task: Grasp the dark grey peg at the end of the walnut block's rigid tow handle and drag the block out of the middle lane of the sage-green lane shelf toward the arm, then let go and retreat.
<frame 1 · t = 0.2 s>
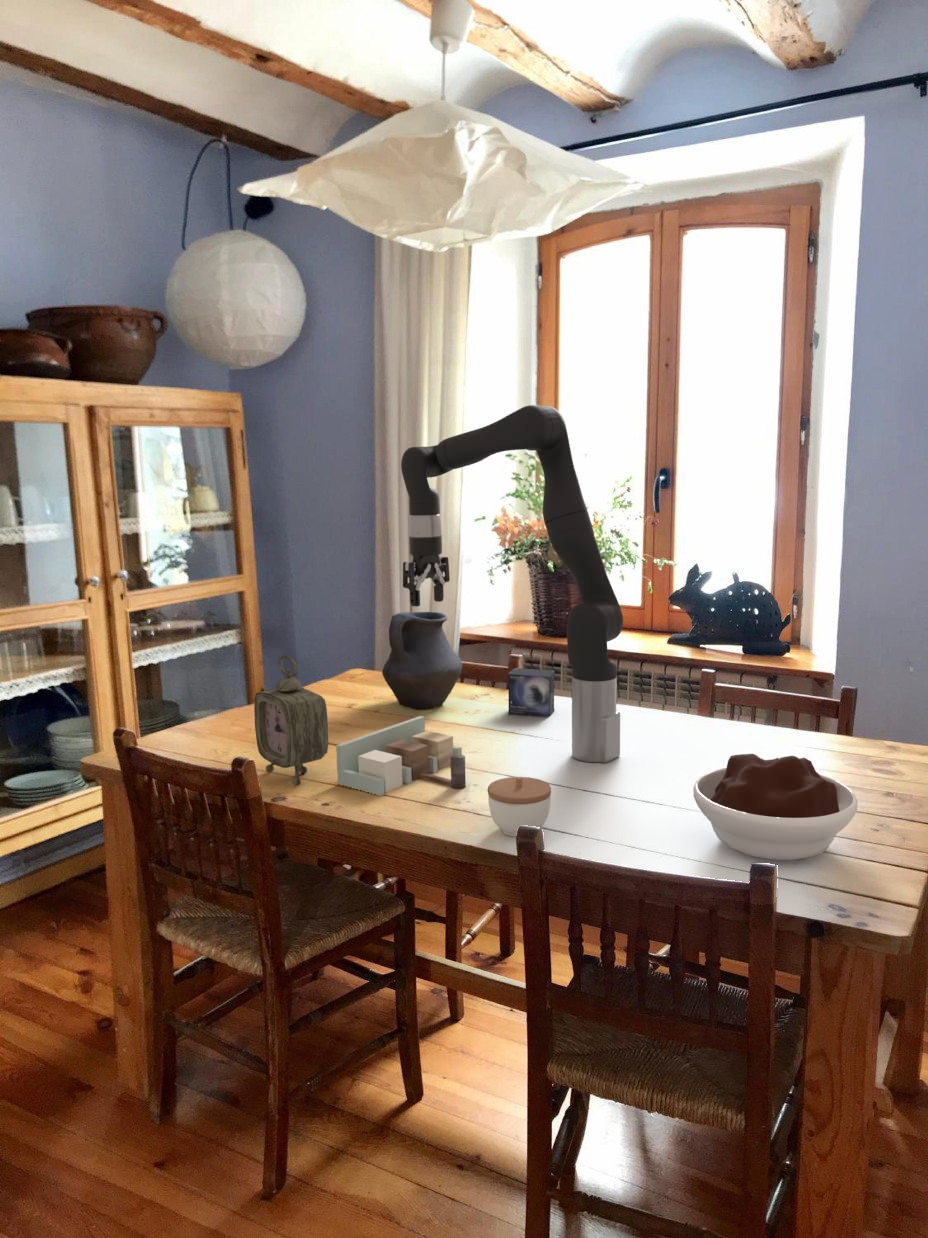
hand: (427, 603, 224), 29 cm above the table, fingers open, 8 cm apart
small box: (531, 713, 237), on the table
cream block: (380, 785, 187), on the table
lane shelf: (404, 773, 194), on the table
pitcher: (421, 706, 246), on the table
oak block: (433, 764, 200), on the table
lidded jar: (519, 831, 164), on the table
bowl of brown mass: (771, 847, 155), on the table
tow block: (407, 774, 193), on the table
tabletop clock: (295, 777, 194), on the table
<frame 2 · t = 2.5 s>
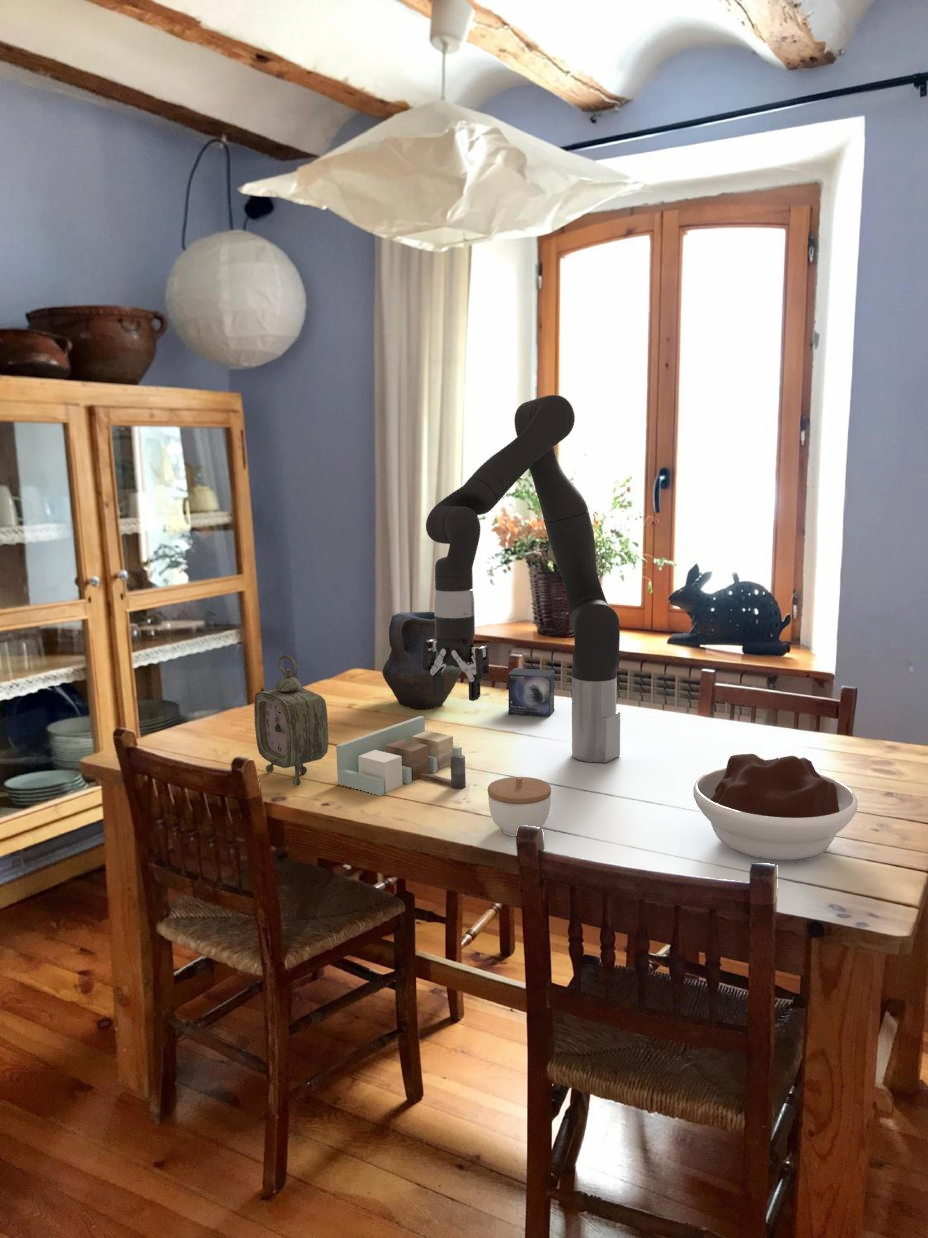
hand: (456, 696, 183), 18 cm above the table, fingers open, 8 cm apart
nothing on the table moved.
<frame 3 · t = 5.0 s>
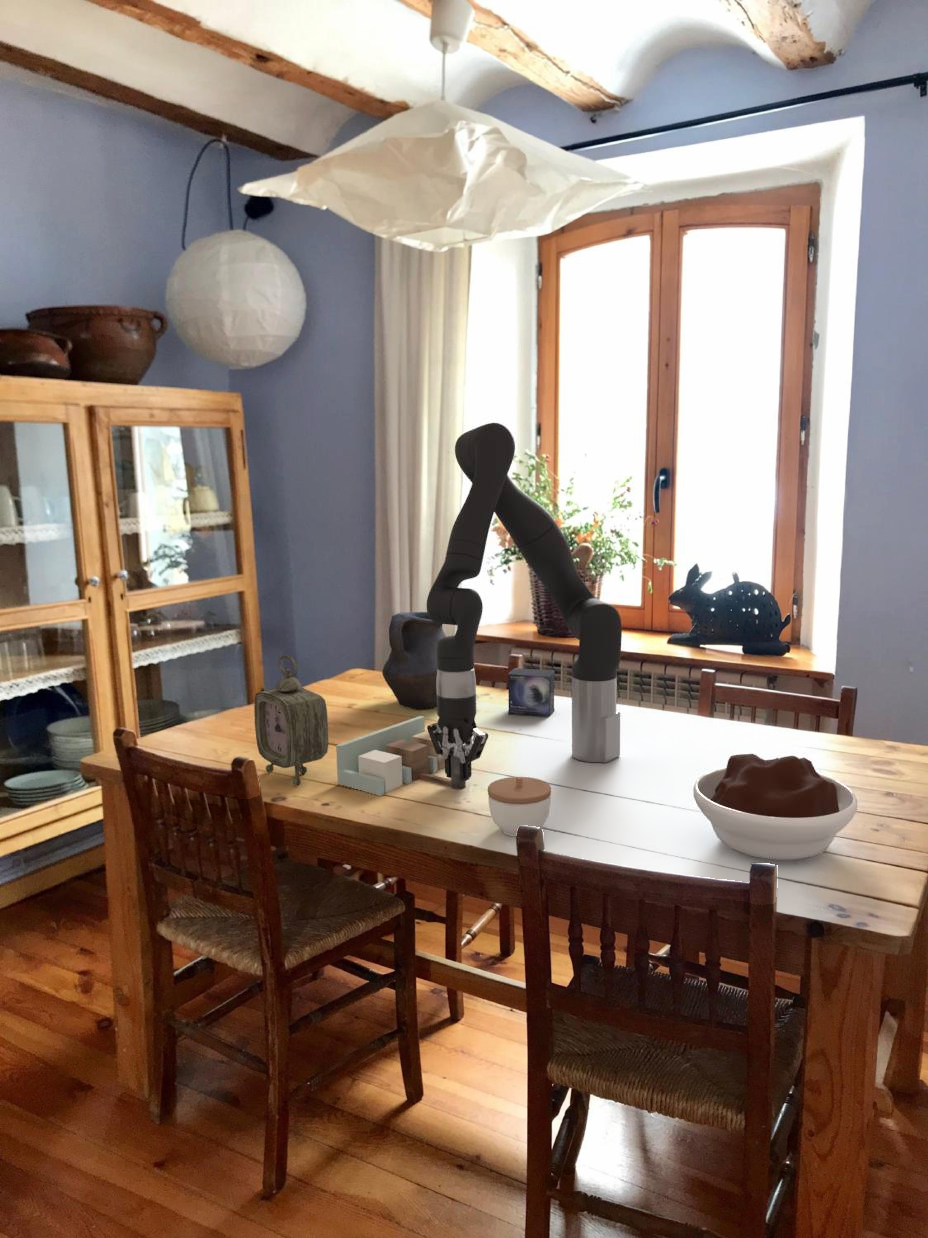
hand: (458, 778, 185), 2 cm above the table, fingers closed on tow block, 3 cm apart
tow block: (407, 773, 193), on the table, touching gripper
everything else where it was.
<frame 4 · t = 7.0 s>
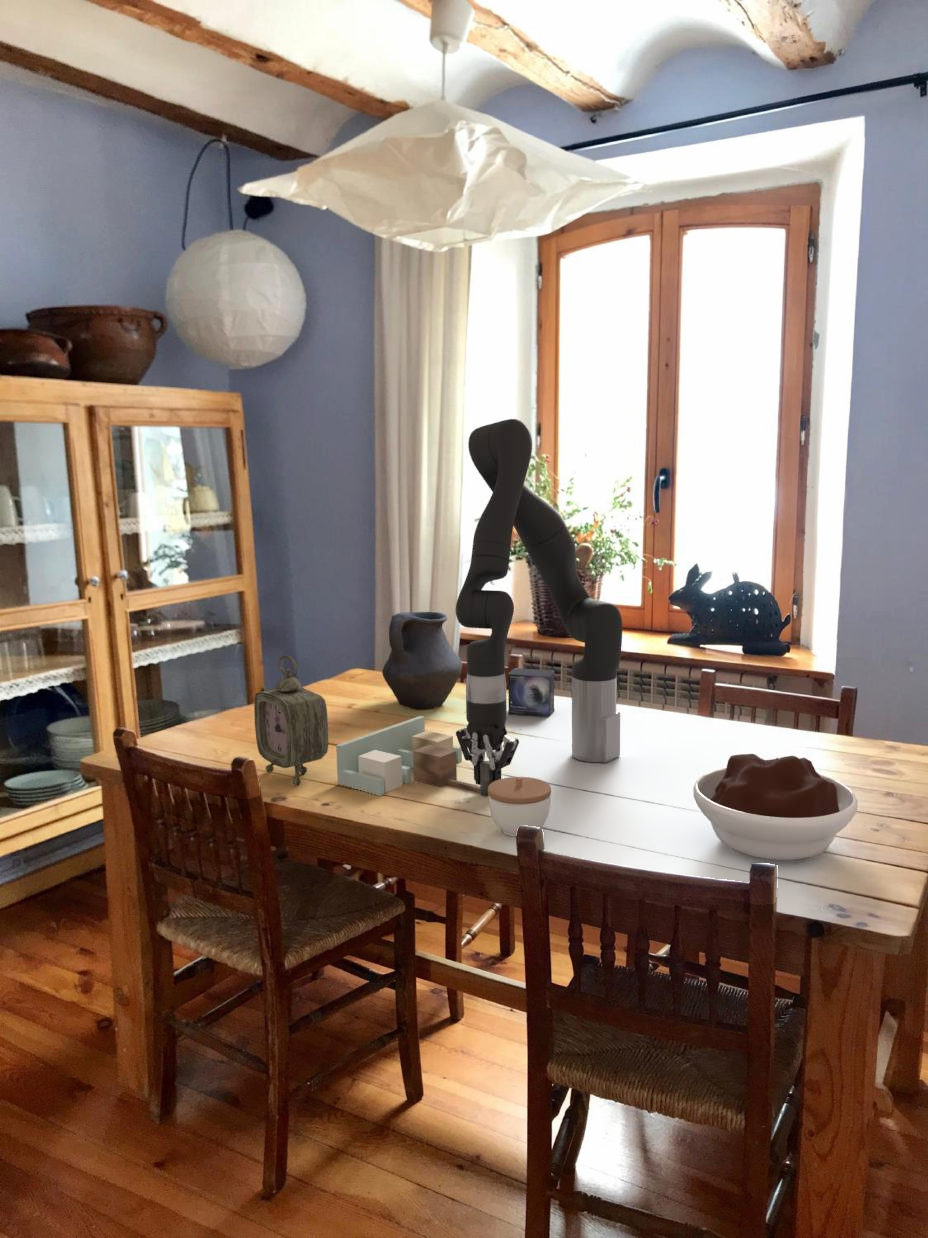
hand: (487, 784, 181), 2 cm above the table, fingers closed on tow block, 3 cm apart
tow block: (435, 780, 189), on the table, touching gripper
everything else where it was.
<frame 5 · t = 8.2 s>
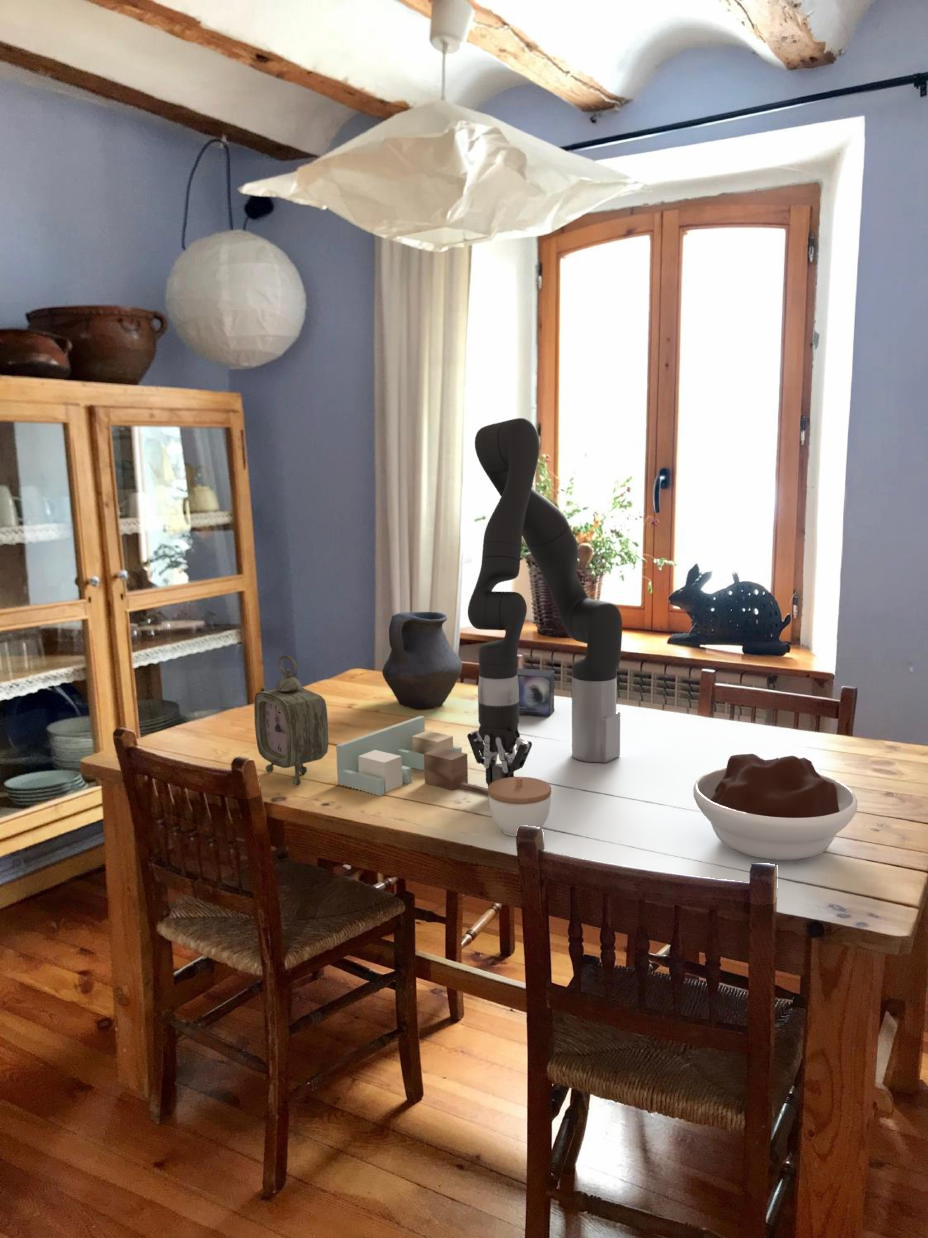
hand: (499, 788, 179), 2 cm above the table, fingers closed on tow block, 3 cm apart
tow block: (446, 783, 188), on the table, touching gripper
everything else where it was.
when the fingers open (2 cm above the table, at t = 8.8 s): tow block stays where it is, on the table.
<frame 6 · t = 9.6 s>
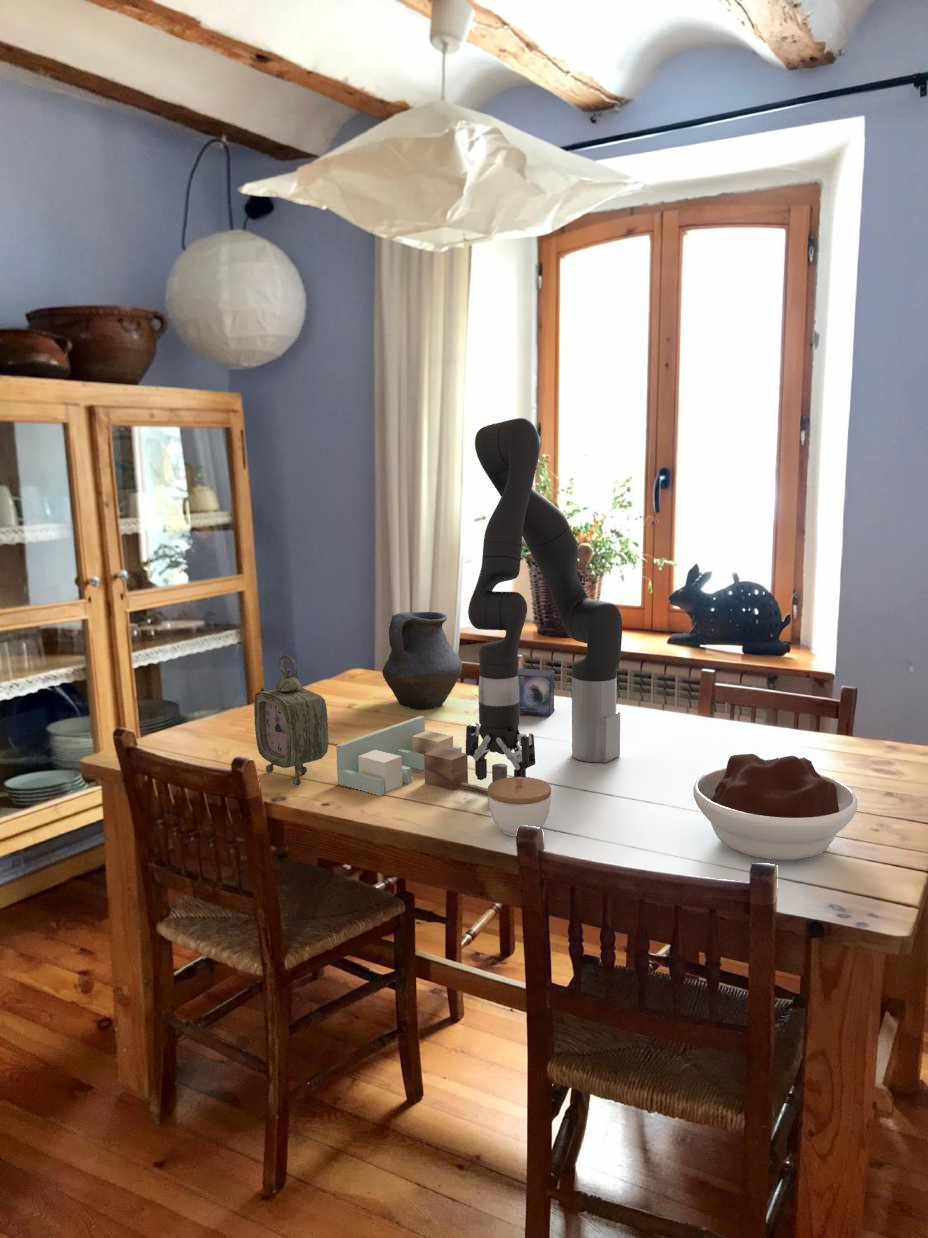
hand: (500, 783, 179), 3 cm above the table, fingers open, 8 cm apart
tow block: (446, 783, 188), on the table
everything else where it was.
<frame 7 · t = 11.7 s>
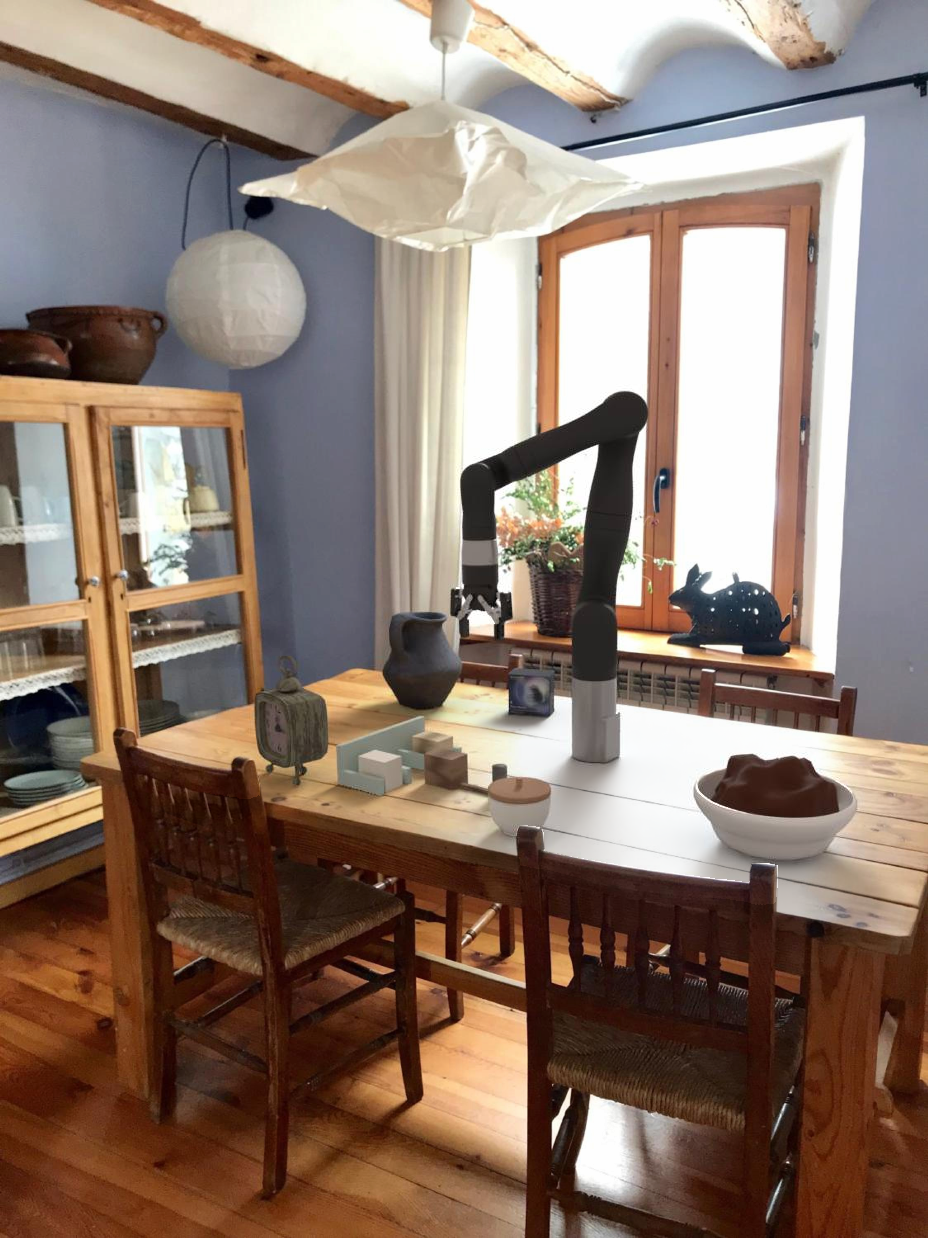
hand: (481, 639, 199), 25 cm above the table, fingers open, 8 cm apart
nothing on the table moved.
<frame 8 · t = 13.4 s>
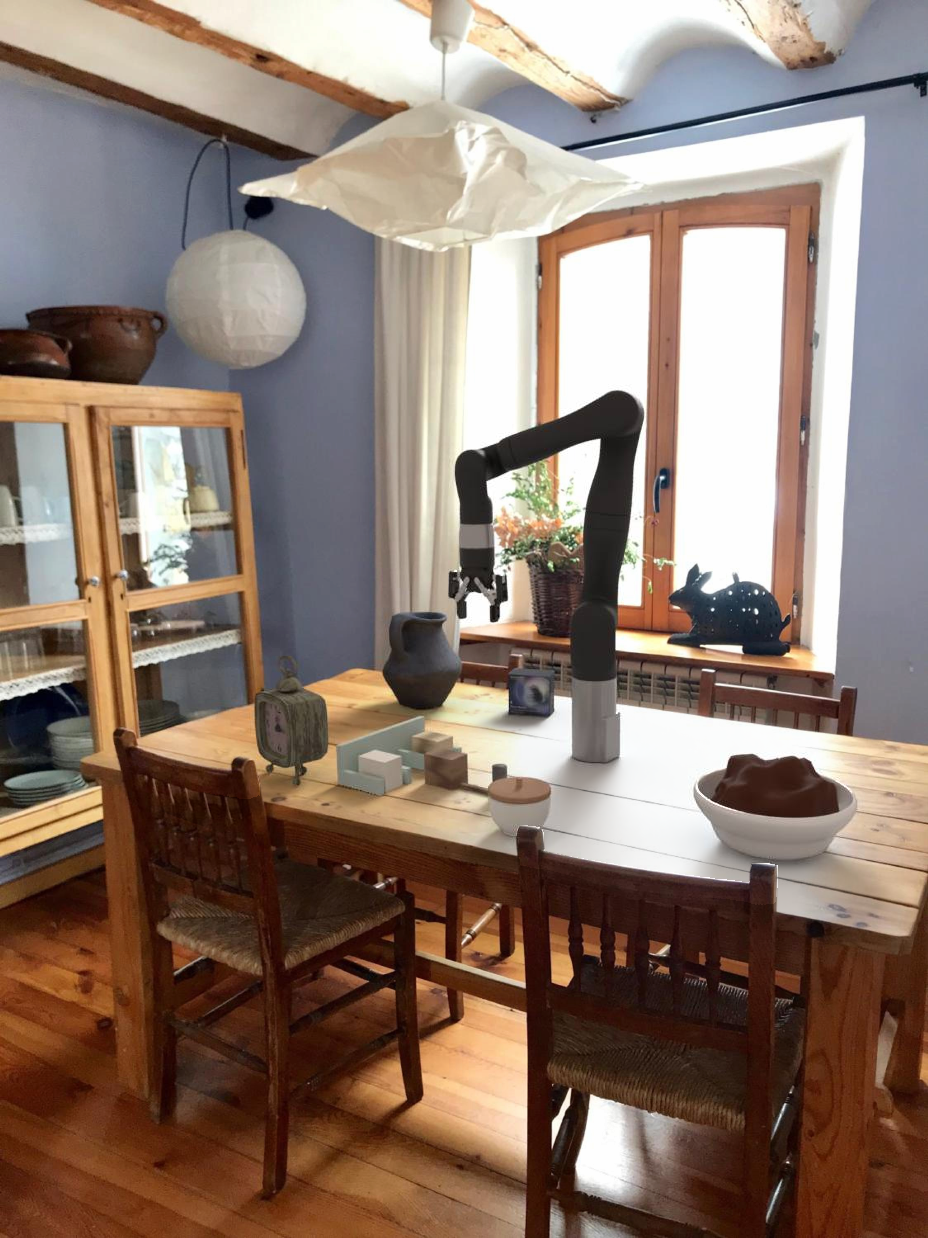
hand: (478, 620, 206), 28 cm above the table, fingers open, 8 cm apart
nothing on the table moved.
at the end: tow block inside the target area (3.4 cm from its centre), on the table; tow block moved 9.9 cm from its start; the gripper is holding nothing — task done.
